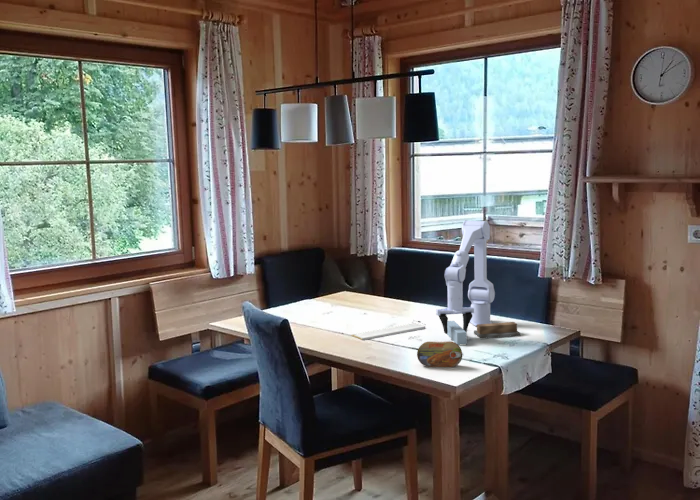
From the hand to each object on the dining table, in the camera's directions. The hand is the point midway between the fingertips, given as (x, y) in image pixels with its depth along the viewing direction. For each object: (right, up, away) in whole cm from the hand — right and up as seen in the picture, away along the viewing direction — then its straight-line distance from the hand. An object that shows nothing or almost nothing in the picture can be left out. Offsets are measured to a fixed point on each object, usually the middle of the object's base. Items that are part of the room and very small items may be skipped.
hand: (455, 332), depth 260 cm
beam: (0, -3, 0) cm, 3 cm away
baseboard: (-25, -2, +14) cm, 29 cm away
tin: (-10, -8, -32) cm, 34 cm away
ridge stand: (+17, -1, +4) cm, 17 cm away
